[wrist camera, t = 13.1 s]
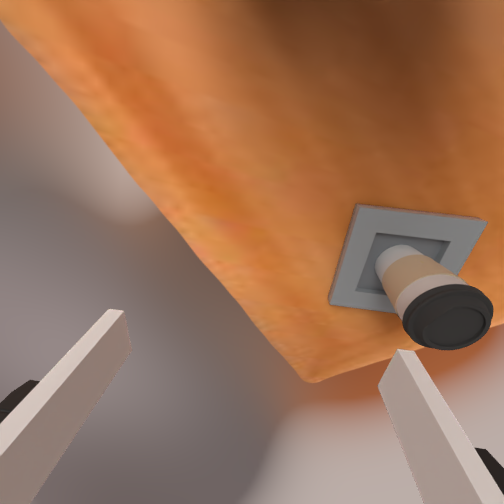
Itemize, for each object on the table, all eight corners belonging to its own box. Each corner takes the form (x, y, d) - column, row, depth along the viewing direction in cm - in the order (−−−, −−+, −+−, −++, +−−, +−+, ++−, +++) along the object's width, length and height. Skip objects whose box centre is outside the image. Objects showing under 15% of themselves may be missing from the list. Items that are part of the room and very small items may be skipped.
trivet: (355, 203, 36) (359, 207, 35) (477, 217, 36) (488, 221, 34) (327, 297, 45) (329, 304, 43) (426, 310, 44) (432, 318, 42)
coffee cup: (440, 257, 38) (528, 325, 25) (396, 294, 42) (451, 370, 29) (397, 228, 37) (466, 283, 23) (356, 269, 40) (394, 337, 27)
